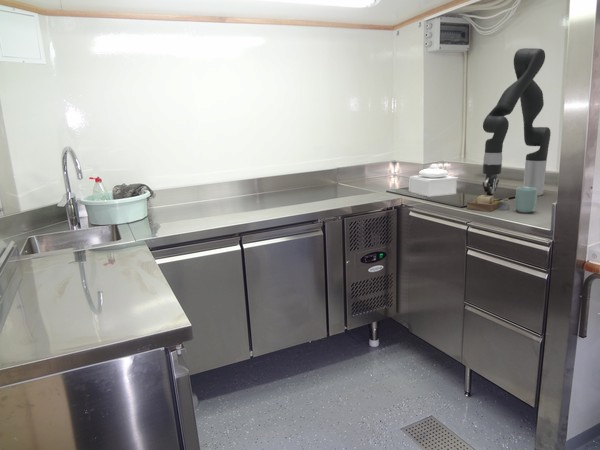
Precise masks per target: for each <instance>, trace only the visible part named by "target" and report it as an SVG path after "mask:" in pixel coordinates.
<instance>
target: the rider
mask: <svg viewBox="0 0 600 450" xmlns="http://www.w3.org/2000/svg"><path fill="white" fill-rule="evenodd" d="M494 198H495V197H494V195H493V196H488V195H487V194H482V195H478V196H477V199H478V200H477V203H484V204H492V203H494Z"/></svg>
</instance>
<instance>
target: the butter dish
mask: <svg viewBox="0 0 600 450" xmlns="http://www.w3.org/2000/svg"><path fill="white" fill-rule="evenodd" d="M408 178H409V179H408V192H409V193H413V194H416V195H420V196H423V197H426V196H427V198H429V197H439V196H440V197H441V196H448V195H449V196H450V195H452V196H453V195H457V185H458V180H459V177H457V176H450V175H449V172H448V170H446V169H443V168H439V165H438V163H437V164H436V163H431V164H430V165H429V167H428V168H424V169H421V170H420V171H419V172H418V175H410V176H409V177H408Z"/></svg>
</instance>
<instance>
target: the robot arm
mask: <svg viewBox="0 0 600 450" xmlns="http://www.w3.org/2000/svg"><path fill="white" fill-rule="evenodd" d="M545 61H546V53H545V50H544V49H542V48H531V47H530V48H529V47H528V48H525V47H524V48H519V49H518V50H517V51H515V54H514V57H513V67H514V68H513V69H514V73H515V76H516V81H514V82H513V83H512V84H510V85H509V86H508V87H507V88H506V89H505V90H504V91H503V93H502V94H501V96H500V98H499V100H498V101H497V104H496V105H495V106H494V107H493V108H492V110H490V111H489V113H488V114H487V115H486V117H484V120H483V122H482V128H483V132H484V133H489V134H493V135H492V137H491V138H488V139H486V140H485V144H484V153H483V154H484V155H483V159H482V160H483V163H482V174H483V175H485V178H484V182H482V188H483V190H484V193H485V194H486V195H488V196H494V193H495V192H496V190H497V188H498V185H499V182H500V179H499V178H498V175H500V174H501V173H502V166H503V165H502V164H503V149H504V148H503V146H504V141H505V139H506V136H507V133H508V130H509V125H510V123H509V120H508V118H507V117H506V116H509V115H511V113H513V111H514V109H515V107H516V106H517V103H518V102H519V100H520V107H521V113H522V119H523V120H522V121H523V137H524V138H523V140H524V143H525V145H526V146H528V147H539V149H538V150H536V151H533V152H530V153H528V154H527V153H526V155H525V163H524V172H523V174H524V175H523V185H522V187H533V188H537V197H539V196H543V194H544V188H545V181H546V180H545V179H546V172H547V171H546V169H547V161H548V160H547V159H548V153H549V145H550V141H551V133H552V132H551V129H550V127H548V126H544V127H543V126H533V123H534V121H536V120H535V119H537V117H538V116H539V115H540V113H541V111H543V108H544V104H545V103H544V101H545V100H544V93H543V90H542V88H540V86H539V84H537V82H536V81H535V80H534V78H536V76H537V74H538V73H539V72H540V71H541V69H542V68H543V65H544V63H545Z"/></svg>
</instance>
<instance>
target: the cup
mask: <svg viewBox="0 0 600 450" xmlns="http://www.w3.org/2000/svg"><path fill="white" fill-rule="evenodd" d="M537 198H538V196H537V188H533V187H523V186H518V187H516V189H515V197H514V199H515V200H514V201H515V203H514V204H515V209H516V211H517V212H518V213H524V214H525V213H526V214H527V213H532V212H533V211H534V210H535V207H536V204H537V200H538V199H537Z"/></svg>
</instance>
